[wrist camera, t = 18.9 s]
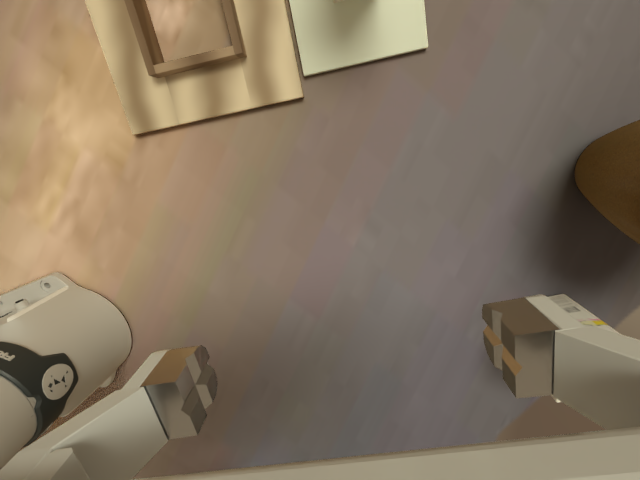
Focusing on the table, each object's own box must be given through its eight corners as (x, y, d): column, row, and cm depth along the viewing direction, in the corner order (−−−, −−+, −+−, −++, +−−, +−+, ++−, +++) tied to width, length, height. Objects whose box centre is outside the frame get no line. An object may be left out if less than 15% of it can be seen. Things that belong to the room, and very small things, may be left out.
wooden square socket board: (137, 134, 38) (122, 135, 36) (63, -74, 32) (39, -93, 30) (303, 97, 36) (301, 94, 34) (258, -134, 30) (250, -159, 28)
